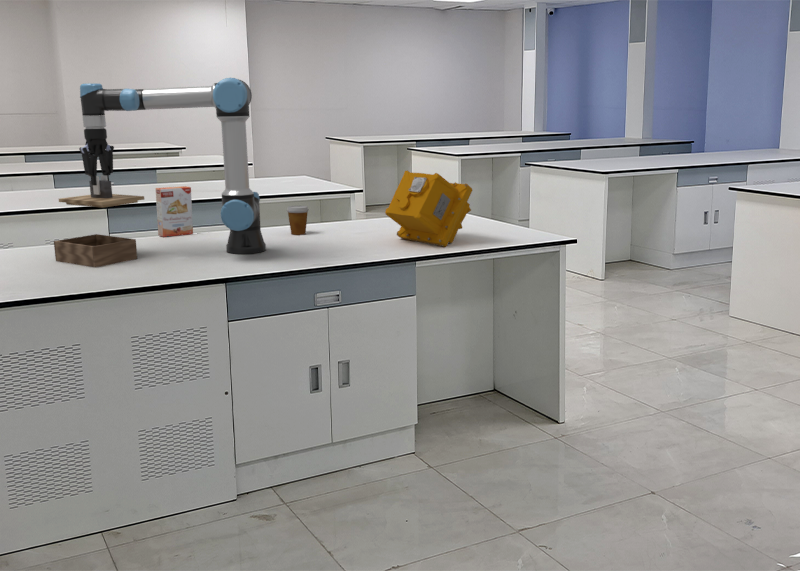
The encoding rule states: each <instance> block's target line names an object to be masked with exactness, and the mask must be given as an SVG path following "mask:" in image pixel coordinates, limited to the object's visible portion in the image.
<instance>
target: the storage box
mask: <svg viewBox="0 0 800 571" xmlns="http://www.w3.org/2000/svg"><path fill="white" fill-rule="evenodd" d="M53 248H54V257H55V262H59V263H66V264H73V265H76V266H83V267H89V268H99V267H106V266H109V265H114V264H115V265H116V264H119V263H123V262H124V263H125V262H128V261H129V262H130V261H134V260H138V251H137V250H138V249H137V240H136V238H129V237H122V236H121V237H120V236H114V235H105V234H99V233H98V234H97V233H95V234H90V235H82V236H76V237H71V238H66V239H60V240H53Z"/></svg>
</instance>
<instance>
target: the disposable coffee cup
mask: <svg viewBox="0 0 800 571" xmlns="http://www.w3.org/2000/svg"><path fill="white" fill-rule="evenodd" d="M286 211H287V215H288V222H289V223H288V224H289V227H290V234H291V235H293V236H302V235H306V234H307V233H306V232H307V224H308V222H307V220H308V212H309V208H308V206H307V205H290V206H289V205H288V206H287V208H286Z"/></svg>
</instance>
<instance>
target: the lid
mask: <svg viewBox="0 0 800 571" xmlns="http://www.w3.org/2000/svg"><path fill="white" fill-rule="evenodd" d="M88 182H89V190H90V194H84V195H77V196H67V197H63V198H61V197H60V198H58V203H65V204H66V205H68V206H80V207H90V208H92V207H93V208H108V207H109V208H110V207H114V206H115V207H117V206H123V205H129V204H136V203H138V202H139V201H144V200H145V196H144V195H129V194H117V193H113V188H112V187H113V186H112V181H111V180H109V181H103V180H101V179H99V185H100V195H96V194H94V191H93V185H92V184H91V180H89V181H88ZM138 204H139V203H138Z"/></svg>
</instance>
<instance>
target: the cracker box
mask: <svg viewBox="0 0 800 571" xmlns="http://www.w3.org/2000/svg"><path fill="white" fill-rule="evenodd" d="M155 203H156V204H155V205H156V215H157V216H156V218H157V232H158V233H157V234H158V236H160V237H162V238H168V237H167V236H169V237H177V236H178V237H179V236H185V235H193V234H194V223H193V204H192V203H193V202H192V187H190V186H188V185H187V186H186V185H185V186H166V187H155Z"/></svg>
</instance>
